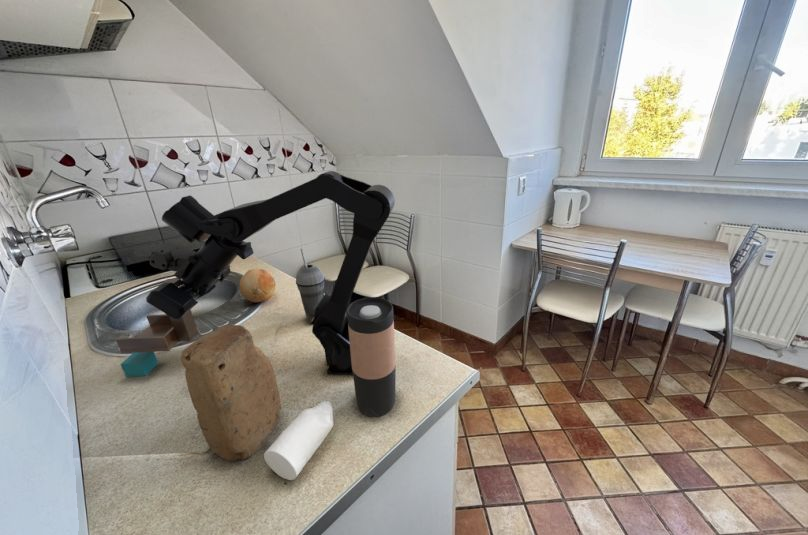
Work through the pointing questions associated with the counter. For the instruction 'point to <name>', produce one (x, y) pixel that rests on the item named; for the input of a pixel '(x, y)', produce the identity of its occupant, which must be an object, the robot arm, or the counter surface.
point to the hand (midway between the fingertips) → (173, 310)
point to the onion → (257, 285)
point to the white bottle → (300, 441)
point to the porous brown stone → (232, 391)
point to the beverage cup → (310, 287)
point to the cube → (139, 364)
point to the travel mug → (372, 354)
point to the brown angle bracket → (161, 332)
